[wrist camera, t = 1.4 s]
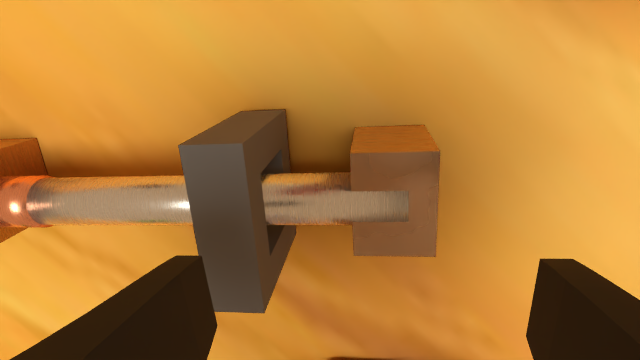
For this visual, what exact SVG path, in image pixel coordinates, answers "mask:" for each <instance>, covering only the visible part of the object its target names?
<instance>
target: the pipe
mask: <svg viewBox="0 0 640 360" xmlns="http://www.w3.org/2000/svg"><path fill="white" fill-rule="evenodd" d="M439 165H440V150H439V149H438V147H437V145H436V144H435V142H434V140H433V139H432V137H431V135H430V134H429V132H428V130H427V129H426V127H425V125H408V126H379V127H355V131H354V136H353V141H352V146H351V151H350V169H351V172H340V173H285V174H261V183H262V191H263V200H264V208H265V217H266V225H353V250H354V256H424V257H436V238H437V213H438V189H439ZM53 225H193V222H192V217H191V211H190V206H189V201H188V195H187V190H186V184H185V179H184V175H175V176H121V177H66V178H55V177H52V176H48V175H47V172H46V168H45V165H44V162H43V159H42V155H41V152H40V149H39V145H38V142H37V139H36V138H28V139H0V243H1V242H3V241H5V240H6V239H8V238H10V237H12V236H14V235H16V234H17V233H19V232H21V231H23V230H25V229H27V228H28V227H50V226H53Z"/></svg>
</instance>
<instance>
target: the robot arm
mask: <svg viewBox="0 0 640 360" xmlns="http://www.w3.org/2000/svg"><path fill="white" fill-rule="evenodd" d="M216 329H217V322H216V317H215V313H214V308H213V304H212V299H211V295H210V290H209V286H208V281H207V277H206V272H205V268H204V263H203V259H202V256H175V257H173V258H171V259H170V260H168V261H166V262H164V263H163V264H161V265H160V266H158V267H156V268H155V269H153V270H152V271H150V272H149V273H147V274H145V275H144V276H142V277H141V278H139V279H138V280H136V281H135V282H133V283H132V284H130V285H129V286H127V287H126V288H124V289H123V290H121V291H120V292H118V293H117V294H115V295H114V296H112V297H110V298H109V299H107V300H106V301H104V302H103V303H101V304H100V305H98V306H97V307H95V308H94V309H92V310H91V311H89V312H88V313H86V314H84V315H83V316H81V317H80V318H78V319H76V320H75V321H73V322H71V323H70V324H68V325H67V326H65V327H63V328H62V329H60V330H58V331H57V332H55V333H53V334H52V335H50V336H49V337H47V338H45V339H44V340H42V341H40V342H39V343H37V344H36V345H34V346H32V347H31V348H29V349H27V350H26V351H24V352H22V353H20V354H19V355H17V356H15V357H13V358H12V359H10V360H207V357H208V354H209V351H210V348H211V345H212V342H213V338H214V335H215V332H216ZM526 337H527V340H528V344H529V347H530V350H531V353H532V356H533V359H534V360H640V300H639V299H637V298H636V297H634V296H632V295H631V294H629V293H628V292H626V291H625V290H623V289H621V288H620V287H618V286H617V285H615V284H614V283H612V282H610V281H609V280H607V279H606V278H604V277H602V276H601V275H599V274H598V273H596V272H594V271H593V270H591V269H589V268H588V267H586V266H584V265H583V264H581V263H579V262H577V261H575V260H574V259H540V262H539V267H538V273H537V278H536V284H535V289H534V295H533V300H532V306H531V311H530V317H529V322H528V328H527V333H526Z"/></svg>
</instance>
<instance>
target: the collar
mask: <svg viewBox="0 0 640 360" xmlns="http://www.w3.org/2000/svg"><path fill="white" fill-rule="evenodd" d="M178 147H179V152H180V157H181V163H182V168H183V174H184V179H185V184H186V190H187V195H188V201H189V206H190V211H191V217H192V222H193V227H194V233H195V238H196V244H197V249H198V254H199V256H202V259H203V263H204V268H205V272H206V277H207V281H208V286H209V290H210V295H211V299H212V304H213V308H214V312H243V313H265V310H266V308H267V305H268V303H269V300H270V298H271V295H272V293H273V290H274V288H275V285H276V283H277V280H278V278H279V275H280V273H281V270H282V267H283V265H284V262H285V260H286V257H287V255H288V252H289V250H290V247H291V245H292V242H293V240H294V237H295V235H296V225H266V217H265V208H264V200H263V191H262V183H261V174H285V173H291V169H290V158H289V147H288V136H287V125H286V114H285V109H284V110H260V111H241V112H239V113H237V114H235V115H233V116H231V117H230V118H228V119H226V120H224V121H222V122H220V123H219V124H217V125H215V126H213V127H211V128H209V129H208V130H206V131H204V132H202V133H200V134H198V135H196V136H195V137H193V138H191V139H189V140H187V141H185V142H184V143H182V144H180V145H178Z"/></svg>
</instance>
